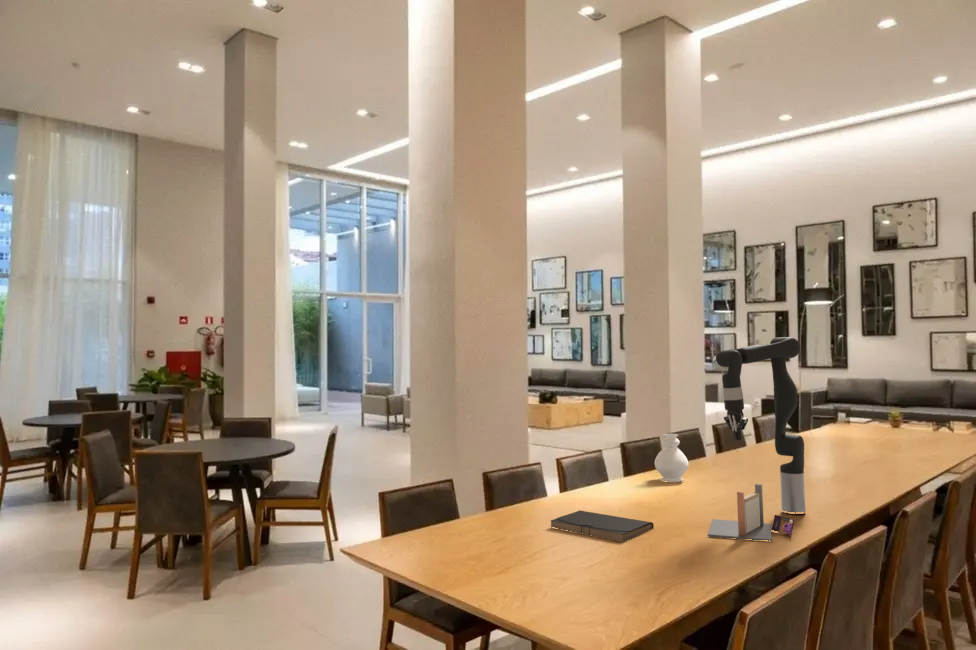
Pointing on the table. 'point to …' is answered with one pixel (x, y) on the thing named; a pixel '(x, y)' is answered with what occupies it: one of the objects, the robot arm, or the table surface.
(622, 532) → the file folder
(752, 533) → the board
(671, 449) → the decorative vase
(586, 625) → the table surface
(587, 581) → the table surface
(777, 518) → the purple decorated picture frame
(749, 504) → the panel
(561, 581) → the table surface
